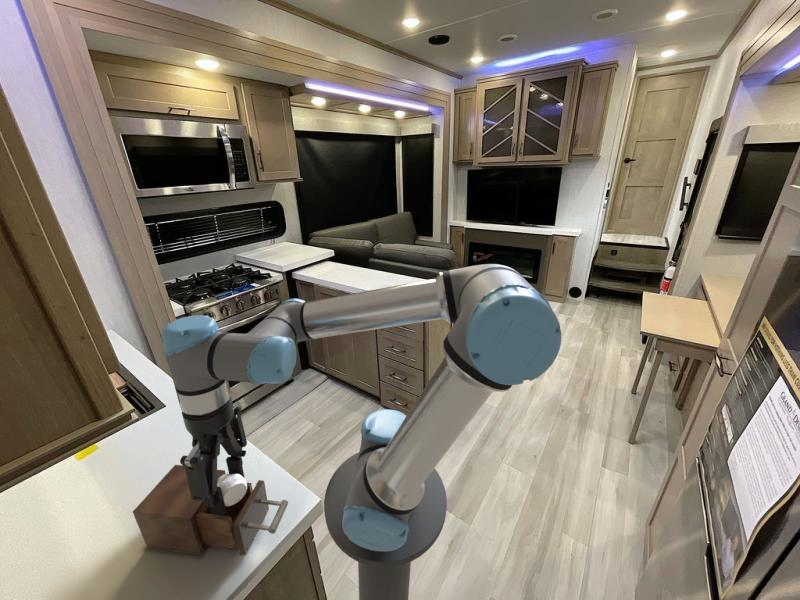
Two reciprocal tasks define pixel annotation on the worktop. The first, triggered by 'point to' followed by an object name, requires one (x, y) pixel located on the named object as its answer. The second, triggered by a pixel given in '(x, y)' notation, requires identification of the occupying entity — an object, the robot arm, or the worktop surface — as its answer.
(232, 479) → the white rounded lump
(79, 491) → the worktop surface
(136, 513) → the cabinet
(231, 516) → the drawer
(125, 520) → the worktop surface
